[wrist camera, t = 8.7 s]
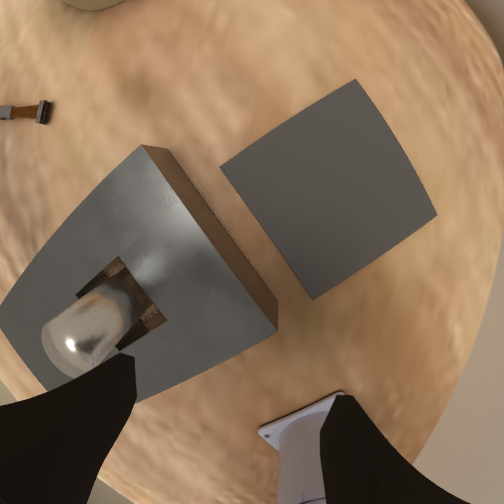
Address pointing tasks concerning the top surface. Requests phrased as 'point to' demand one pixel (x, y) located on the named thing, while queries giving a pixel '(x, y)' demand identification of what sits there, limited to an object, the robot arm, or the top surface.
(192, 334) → the block
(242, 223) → the top surface
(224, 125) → the top surface
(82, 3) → the reusable coffee cup
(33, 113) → the wooden post with brackets
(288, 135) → the rubber mat
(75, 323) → the steel pin
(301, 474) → the robot arm
